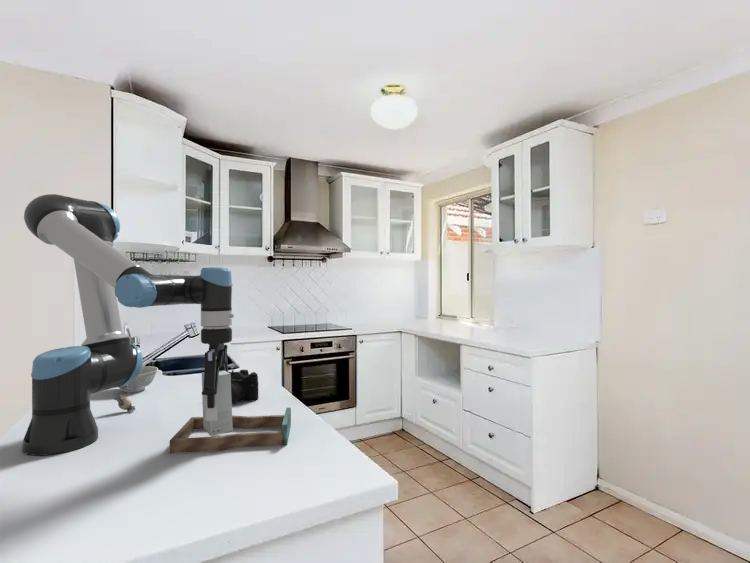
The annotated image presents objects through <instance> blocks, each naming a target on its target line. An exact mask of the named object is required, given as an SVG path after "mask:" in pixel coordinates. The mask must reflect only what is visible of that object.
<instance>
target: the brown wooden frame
mask: <svg viewBox="0 0 750 563" xmlns="http://www.w3.org/2000/svg"><path fill="white" fill-rule="evenodd" d="M291 409H292V407H286V408H285V413H284V414H277V415H251V416H245V415H244V416H243V415H232V423H233V429H243V430H245V429H246V430H247V429H248V430H250V429H251V430H253V429H254V430H255V429H270V428H275V429H277V428H281V430H279V431H277V430H276V431H262V432H261V431H260V432H258V431H257V432H239V433H232V434H231V433H230V434H226V435H221V436H202V437H201V436H200V437H199V436H197V437H190V436H191V435H192V433H194V431H195V430H205V429H204V428H203V416H194V417H193V416H192V417H190V418H189V420H187V422H185V424H183V425H182V427H181V428H179V430H178V431H177V432H176V433H175V434H174V435H173V437H171V438H170V440H169V454H185V453H187V454H188V453H201V452H203V453H204V452H205V453H206V452H218V451H219V452H220V451H225V450H230V449H236V448H248V447H249V448H252V447H253V448H254V447H269V446H270V447H271V446H272V447H273V446H287V445H288V443H289V436H290V431H291V427H292V426H291V425H292V410H291Z"/></svg>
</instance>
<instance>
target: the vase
mask: <svg viewBox="0 0 750 563" xmlns="http://www.w3.org/2000/svg"><path fill="white" fill-rule="evenodd" d="M113 400H114V401H117V405H118V407H119V408H120V410H124V411H126V410H127V413H126V415H129V414H133V411H135V410H136V405H135V406H134V405H133V404H132V401H131V399H130V398H129V397H123V396H122V394H121V393H118V394H116V396H114V398H113Z"/></svg>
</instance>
